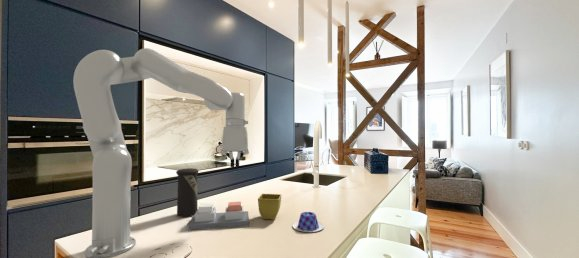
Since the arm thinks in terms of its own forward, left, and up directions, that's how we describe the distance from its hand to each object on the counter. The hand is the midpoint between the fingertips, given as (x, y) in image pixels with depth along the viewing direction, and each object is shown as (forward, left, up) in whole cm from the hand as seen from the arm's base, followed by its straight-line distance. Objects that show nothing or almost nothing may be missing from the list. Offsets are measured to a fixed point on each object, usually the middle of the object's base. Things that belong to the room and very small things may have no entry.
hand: (234, 168), depth 101 cm
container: (+13, +21, -21) cm, 32 cm away
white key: (0, +11, -17) cm, 20 cm away
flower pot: (+2, -14, -21) cm, 26 cm away
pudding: (-11, -28, -22) cm, 37 cm away
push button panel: (0, +6, -21) cm, 22 cm away
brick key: (0, 0, -17) cm, 17 cm away
